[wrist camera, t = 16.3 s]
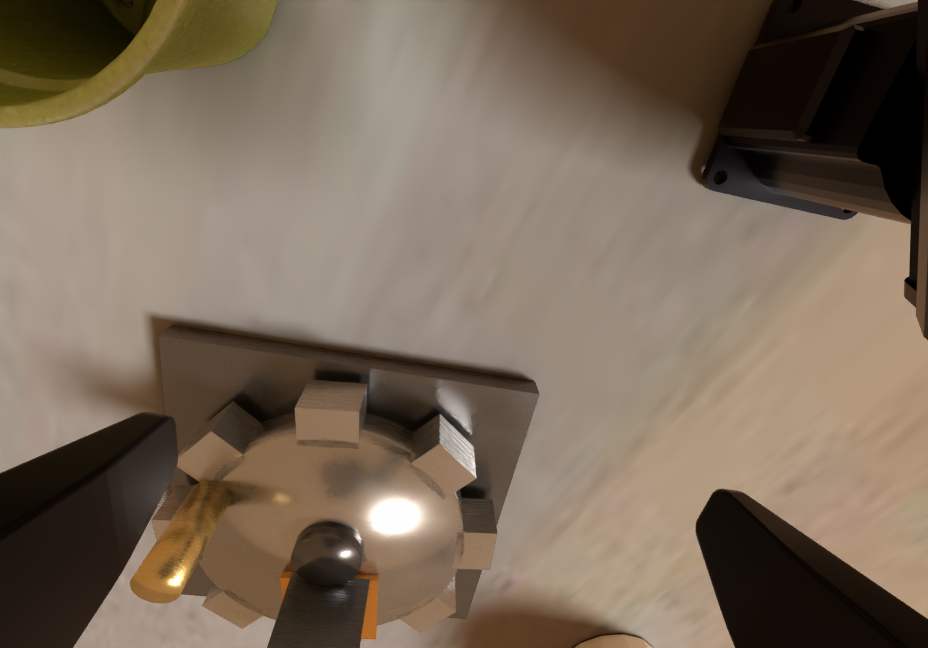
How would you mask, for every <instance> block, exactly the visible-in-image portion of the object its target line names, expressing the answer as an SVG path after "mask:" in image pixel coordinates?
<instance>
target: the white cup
mask: <svg viewBox="0 0 928 648" xmlns="http://www.w3.org/2000/svg"><path fill="white" fill-rule="evenodd" d="M575 648H653V647H652V646H651V645H649V644H648V643H647V642H646V641H645V640H643V639H641V638H637V637H633V636H629V635H624V634H620V635H606V636H599V637H596V638H593V639H591V640H588V641H585V642H582V643H580V644H579V645H577V646H576V647H575Z"/></svg>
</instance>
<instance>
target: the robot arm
mask: <svg viewBox="0 0 928 648" xmlns="http://www.w3.org/2000/svg"><path fill="white" fill-rule="evenodd" d="M787 1H788V0H773V2H772V4H771V7H770V9H769V12H768V14H767V17H766V19H765V22H764V24H763V26H762V29H761V31H760V34H759V36H758V39H757V41H756V44H755V46H754V48H753V49H751V50H750V51H749V52H748V54H747V56H746V59H745V61H744V64H743V66H742V69H741V71H740V74H739V76H738V79H737V81H736V84H735V86H734V89H733V91H732V94H731V96H730V99H729V101H728V104H727V106H726V108H725V111H724V113H723V116H722V118H721V121H720V123H719V131H720V132H719V135H718V137H717V140H716V142H715V145H714V147H713V149H712V152H711V154H710V157H709V159H708V162H707V164H706V167H705V169H704V172H703V174H702V184H703V185H704V187H705V188H707V189H709V190H713V191H716V192H721V193H725V194H730V195H734V196H739V197H743V198H748V199H752V200H757V201H761V202H766V203H770V204H775V205H779V206H784V207H788V208H793V209H797V210H802V211H806V212H810V213H815V214H819V215H824V216H828V217H833V218H837V219H842V220H847V219H849V218H852V217H853V216H855V215H856V214H857V213H858V212H860V213H864V214H868V215H873V216H877V217H881V218H886V219H890V220H894V221H899V222H903V223H907V224H911V240H910V273H909V277H907V278H906V279H905V280H904V297H905V298H906V299H907V300H908V301H909V302H910V303H911V304H913V305H914V306H915V307H916V316H917V319H918V322H919V325H920V328H921V330H922V333H923V336H924V337H925V338H926V339H927V340H928V0H918V2H914V3H910V4H906V5H901V6H897V7H893V8H889V9H885V10H884V9H881V8H877V7H874V6H870V5H867V4H864V3H860V2H857V1H853V0H793V3H794V4H793V9H792V10H791V12H790V13H789V12H788V11H787V9H786V4H787ZM719 171H721V178H720V180H719V181H718V182H716V183H715V182H714V176H715V174H716V173H717V172H719ZM842 209H844V210H842ZM177 463H178V447H177V432H176V423H175V420H174V418H173V417H172V416H170V415H166V414H158V413H151V412H142V413H139V414H136V415H134V416H132V417H129V418H127V419H125V420H122V421H120V422H118V423H116V424H113V425H111V426H109V427H106V428H104V429H102V430H99V431H97V432H95V433H92V434H90V435H88V436H85V437H83V438H81V439H78V440H76V441H74V442H71V443H69V444H67V445H65V446H62V447H60V448H58V449H55V450H53V451H51V452H48V453H46V454H44V455H41V456H39V457H37V458H34V459H32V460H30V461H27V462H25V463H23V464H20V465H18V466H16V467H14V468H11V469H9V470H7V471H4V472H2V473H0V648H73V647H74V645H75V644H76V642H77V641H78V639H79V638H80V636H81V635H82V633H83V632H84V630H85V628H86V627H87V625H88V624H89V622H90V621H91V619H92V618H93V616H94V615H95V613H96V612H97V610H98V609H99V607H100V606H101V604H102V603H103V601H104V600H105V598H106V596H107V595H108V593H109V592H110V590H111V589H112V587H113V586H114V584H115V582H116V581H117V579H118V578H119V576H120V574H121V573H122V571H123V569H124V568H125V566H126V564H127V562H128V560H129V559H130V557H131V555H132V553H133V551H134V549H135V547H136V545H137V543H138V542H139V540H140V538H141V536H142V534H143V532H144V530H145V528H146V526H147V524H148V522H149V521H150V519H151V517H152V515H153V513H154V511H155V509H156V507H157V505H158V503H159V501H160V500H161V498H162V496H163V494H164V492H165V490H166V488H167V486H168V484H169V482H170V480H171V478H172V477H173V475H174V472H175V470H176V467H177ZM696 536H697V539H698V542H699V545H700V548H701V551H702V554H703V557H704V560H705V563H706V566H707V570H708V573H709V576H710V579H711V582H712V585H713V588H714V591H715V594H716V597H717V600H718V603H719V606H720V609H721V612H722V615H723V618H724V620H725V623H726V626H727V629H728V631H729V634H730V636H731V639H732V641H733V644H734V646H735V648H928V619H927V618H926V617H924V616H923V615H921V614H920V613H918V612H917V611H915V610H914V609H912V608H911V607H910V606H908V605H907V604H905V603H904V602H902V601H901V600H899V599H898V598H896V597H895V596H893V595H892V594H891V593H889V592H888V591H886V590H885V589H883V588H882V587H880V586H879V585H877V584H876V583H875V582H873V581H872V580H870V579H869V578H867V577H866V576H864V575H863V574H861V573H860V572H859V571H857V570H856V569H854V568H853V567H851V566H850V565H848V564H847V563H845V562H844V561H842V560H841V559H840V558H838V557H837V556H835V555H834V554H832V553H831V552H829V551H828V550H826V549H825V548H824V547H822V546H821V545H819V544H818V543H816V542H815V541H813V540H812V539H810V538H809V537H808V536H806V535H805V534H803V533H802V532H800V531H799V530H797V529H796V528H794V527H793V526H792V525H790V524H789V523H787V522H786V521H784V520H783V519H781V518H780V517H778V516H777V515H775V514H774V513H773V512H771V511H770V510H768V509H767V508H765V507H764V506H762V505H761V504H759V503H758V502H757V501H755V500H754V499H752V498H751V497H749V496H748V495H746V494H745V493H743V492H740V491H735V490H728V489H718V490H716V491H715V492H713V494H712V495H711V497H710V498H709V500H708V502H707V504H706V505H705V507H704V509H703V511H702V512H701V514H700V516H699V518H698V519H697V522H696Z"/></svg>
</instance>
